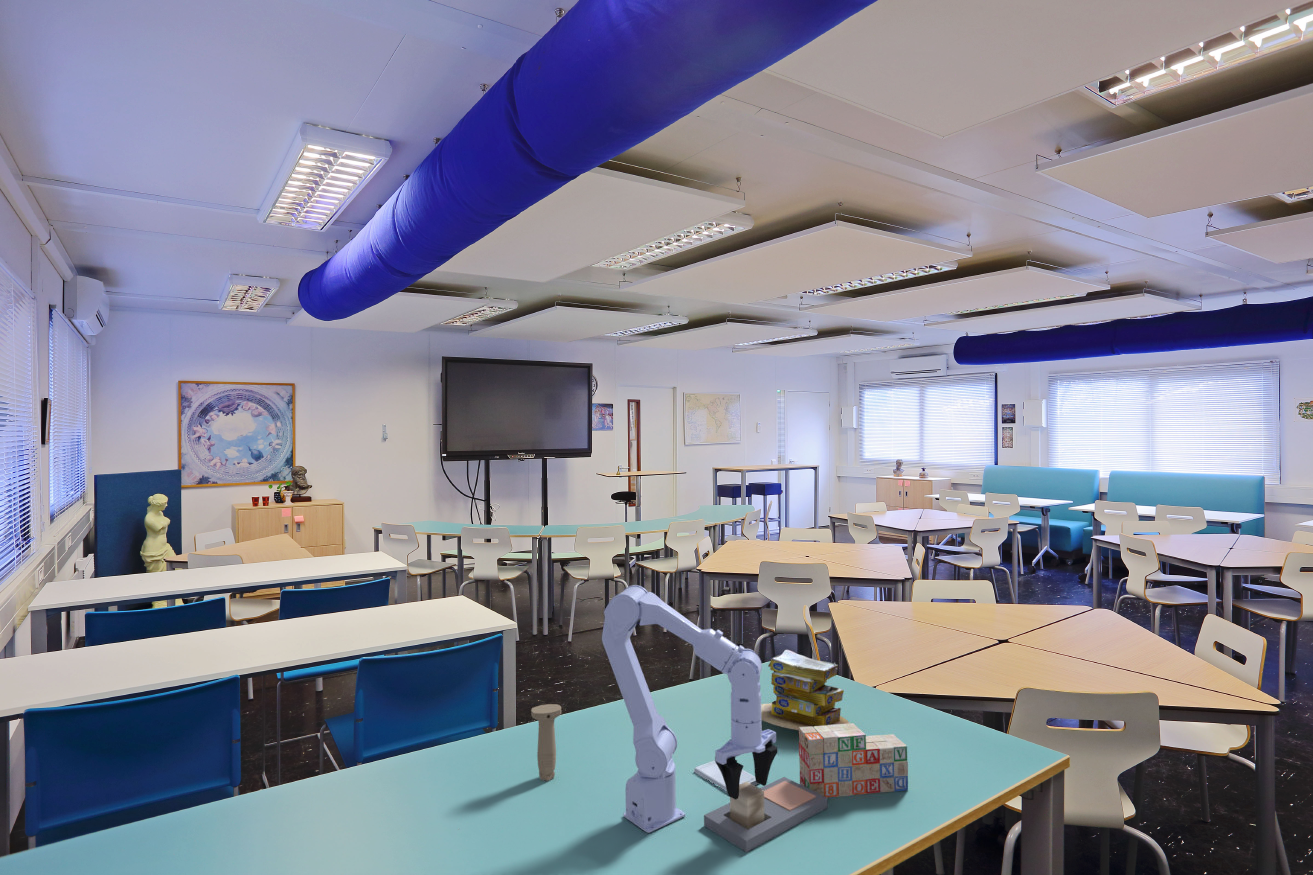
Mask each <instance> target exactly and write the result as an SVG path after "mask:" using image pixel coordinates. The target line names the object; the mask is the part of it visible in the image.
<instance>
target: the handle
mask: <svg viewBox="0 0 1313 875" xmlns="http://www.w3.org/2000/svg"><path fill="white" fill-rule="evenodd" d="M530 711H531V713H530V714H531V717H532V719H534V720H536V721H538V733H537V734H538V735H537V736H538V738H537V752H536V754H537V755H536V756H537V767H538V775H539V776H538V777H539V778H540V780H541V781H546V782H550V781H551V780H552V779H554V778H555V775H556V772H555V770H556V762H557V747H556V744H557V743H556V730H555V729H556V728H555V720H556V718H558V717H560V716H561V714H562V706H561V705H560V704H557V703H556V704H555V703H554V704H552V703H550V704H549V703H548V704H540V705H538V706H537V705H536V706H535V707H534V706H533V707H532V708H531V710H530Z"/></svg>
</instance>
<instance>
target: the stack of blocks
mask: <svg viewBox="0 0 1313 875" xmlns="http://www.w3.org/2000/svg"><path fill="white" fill-rule="evenodd" d="M798 735H799V736H798V737H799V738H798V740H799V741H798V756H799V759H798V760H799V784H801V785H802V786H804V787H806V788H808V789H810V790H813V791H815V792H817V793H819V794H821V795H823V796H825V797H827V798H835V797H837V798H838V797H848V796H850V797H851V796H856V795H867V794H877V793H878V794H879V793H891V792H902V791H903V792H904V791H908V790H909V764H908V763H909V762H908V761H909V760H908V746H907V745H906V744H905V743H904V742H903V741H902V740H901V739H900V738H898V737H897V736H896V735H895V734H894V733H889V734H877V735H875V734H874V735H867V734H866V733H865V732H863V731H862V730H861V729H860V728H859V727H858V726H856V725H855V723H853V722H852V723H851V722H849V724H835V725H827V726H826V725H825V726H814V727H812V726H810V727H799V730H798Z"/></svg>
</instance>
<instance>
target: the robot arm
mask: <svg viewBox="0 0 1313 875" xmlns="http://www.w3.org/2000/svg"><path fill="white" fill-rule="evenodd" d="M603 614H604V621H603V628H602V634H601V635H602V636H601V642H602V644H603V647H604V650H605V652H606V655H607V659H608V660H609V663H610V667H611V669H612V672H613V674H614V677H615V679H616V682H617V685H618V688H619V690H620V694H621V696H622V698H623V701H624V704H625V707H626V709H627V713H628V714H629V718H630V720H631V723H632V726H633V734H632V735H633V736H632V737H633V738H632V740H633V741H632V743H633V745H634V749H635V756H634V757H635V758H634V760H635V766H636V767H637V771H636V772H635V773H634V775H632V776H631V777H629V778H628V779H627V780H626V782H625V812H624V813H623V817H624V818H625V819H627V820H628V821H629V822H631V823H632V824H634V825H636V826H637V827H638V828H640V829H641V830H643V831H644V832H645V833H648V834H650V833H652V832H654V831H656V830H658V829H660V828H662V827H665V826H667V825H668V824H671V823H673V822H676V821H679V819H680V820H681V818H684V817H685V816H686V813H685V812H684V811H683V810H681V809H679V808H678V807H677V806H676V805H677V804H676V803H677V802H676V801H677V799H676V798H677V797H676V764H675V762H674V759H673V755H674V754H675V752H676V750H677V748H678V738H677V735H676V733H675V732H674V731H673V730H672V729H671V728H670V727H669V726H668V724H667V723H666V719H665V718H664V717H663V716H662V715H661V714H659V713H658V710H657V707H656V705H655V703H654V700H653V697H652V695H651V692H650V689H649V686H648V684H647V682H646V678H645V675H644V673H643V670H642V667H641V665H640V662H639V659H638V657H637V654H636V652H635V649H634V646H633V644H632V642H631V641H632V640H631V636H632V634H633V632H634V630H635V628H636V626H637V623H638V622H639V626H647V625H648V626H650V625H658V626H660V627H662V628H664V629H665V630H666V631H668V632H670V633H672V634H673V635H675V636H677V637H678V638H680V639H681V640H683V641H686V642H687V643H689V644H690V645H692V648H693V650H694V653H695V656H697V657H698V658H700V659H702V660H703V661H704V662H706V663H708V664H709V665H710V666H712V667H713V668H715V669H716V670H718V671H719V672H721V673H722V674H725V675H727V678H728V681H729V683H730V685H731V692H730V730H731V731H730V732H731V733H730V734H731V735H730V736H731V738H730V739H729V740H728V741H727V742H725V744H723V745H722V746H721V747H720V748H719V749H716V750H715V751H714V752H715V755H714V760H715V762H716V764H717V766H718V768H719V769H720V771H721V774H722V776H723V779H724V782H725V785H726V789H727V792H726V793H727V796H728V797H729V798H730V797H732V798H733V799H738V797H739V783H740V776H741V772H742V770H744V769H743V768H744V765H743V764H741V763H739V762H738V759H736V758H737V757H739V756H742V755H744V754H751V753H752V757H753V758H752V759H753V767H754V776H755V779H756V782H757V783H759V785H761V786H762V787H764V786H766V785H767V783H768V778H769V774H770V770H771V768H772V764H773V761H774V760H775V757H777V754H778V752H779V750H778V748H779V747H778V746H776V745H774V744H775V743H776V742H777V732H776V731H774V730H772V729H769V728H768V729H765V730H763V729H762V720H761V704H762V694H761V683H760V677H761V672H762V667H763V665H762V660H761V657H760V656H759V655H758V654H757V653H756V652H755V651H754V650H753V649H750V648H745V647H744V646H743V645H741V644H740V645H739V646H738V645H737V644H735V643H734V642H732V641H731V640H729V639H728V638H726V637H724V636H723V635H724V632H723V631H721V630H720V629H716V630H714V629H713V628H706V629H702V628H700V627H699V626H697V625H696V624H694V623H693V622H692V621H690V620H689V619H688V618H686V616H684V615H682V614H681V613H680V612H678V611H677V610H676V609H674V608H673V607H672V606H670V605H668V604H667V603H666V602H665V601H663V600H662V599H661V598H660V597H659V596H658V595H656V594H655V593H654V592H651V591H648V590H647V589H646V588H644V587H643V586H642V585H638V584H633V585H629V586H628V587H625V588H624V590H622V591H621V592H620V593H619V594H616V595H615V596H613V597H612V598H611V599H610V600H609V603H608V604H607V606H606V608H605V609H604V611H603Z"/></svg>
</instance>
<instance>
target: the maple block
mask: <svg viewBox="0 0 1313 875" xmlns="http://www.w3.org/2000/svg"><path fill="white" fill-rule="evenodd" d="M760 788H761V787H759V786H757V785H756V786H754V785H752V784H751V783H749V782H747V781H746V782H744V783H742V784H740V785H739V797H738V799H733V798H732V797H730V796H729V803H730V819H731V820H732V821H734V822H736V823H737V824H739V825H741V826H742V827H744V828H746V829H750V828H752V827H754V826H756V825H758V824H760V823H762V822H764V790H762V789H760Z"/></svg>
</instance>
